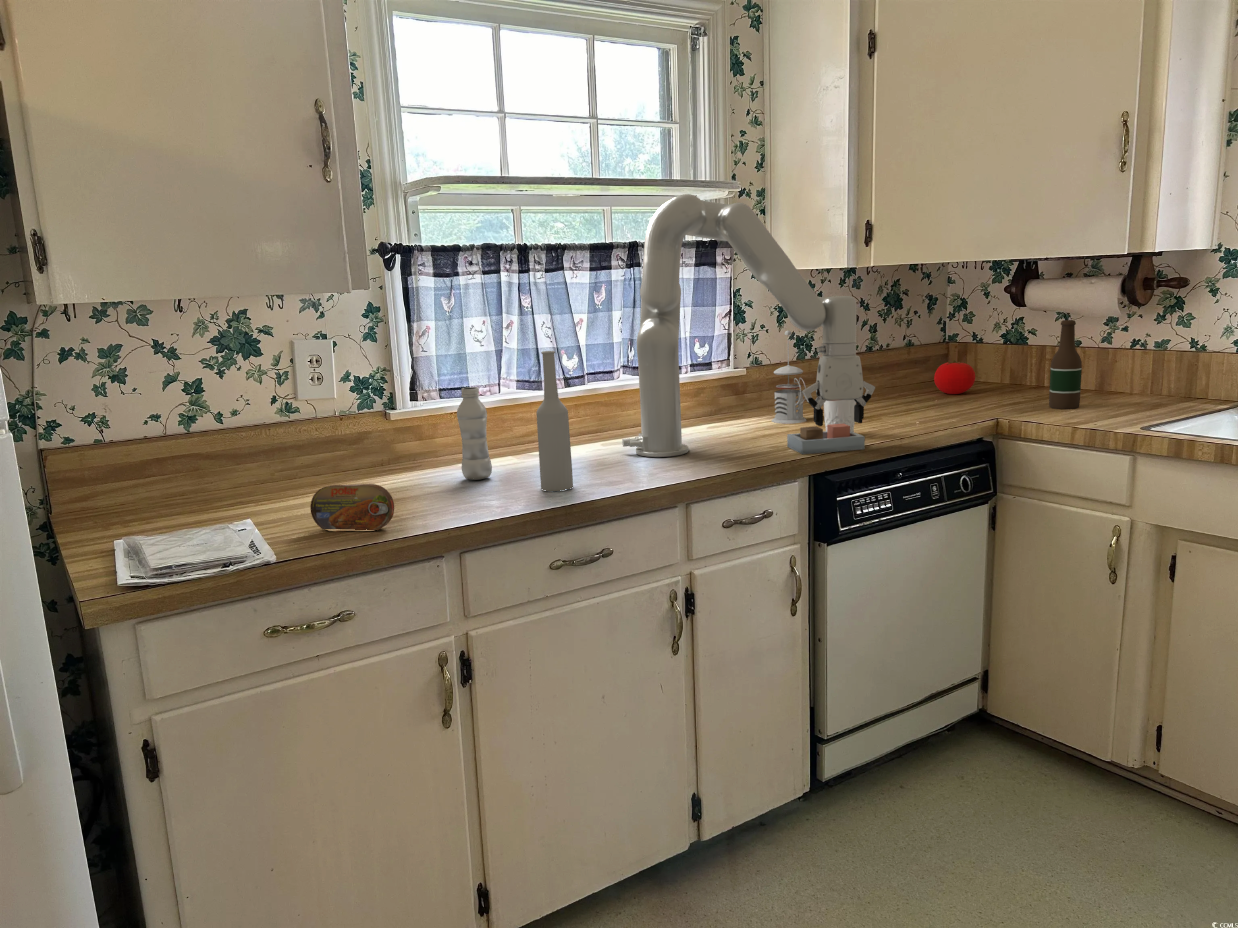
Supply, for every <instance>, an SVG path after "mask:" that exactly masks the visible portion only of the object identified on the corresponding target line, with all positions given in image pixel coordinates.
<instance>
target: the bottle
mask: <svg viewBox="0 0 1238 928" xmlns="http://www.w3.org/2000/svg"><path fill="white" fill-rule="evenodd" d="M555 353H556V351H555V350H543V351H541V353H540V354H541V355H542V368H543V401H542V402H541V404H540V405H539V407H538V408H537V411H536V424H537V425H536V426H537V428H536V429H537V430H536V431H537V445H538V457H539V458H538V461H539V462H538V463H539V477H540V490H541V489H543V490H546V491H545V492H547V491H560V490H565V489H570V488H572V487H573V488H574V480H573V463H572V450H571V448H572V447H571V435H570V419H569V410H568V408H567V407H566V406H565V404H564V403H563V402H562V401H561V399H560V397H559V390H558V383H557V374H556V373H557V371H556V359H555V358H556V357H555ZM573 488H572V489H573ZM570 490H571V489H570ZM560 492H561V491H560Z"/></svg>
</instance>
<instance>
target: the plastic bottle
mask: <svg viewBox="0 0 1238 928" xmlns="http://www.w3.org/2000/svg"><path fill="white" fill-rule="evenodd" d="M480 396H481V395H480V389H479V387H478V386H477V387H475V386H473V387H462V388H461V398H462V401H461V402H460V404H459V406H458V408H457V411H456V418H457V423H458V427H459V431H460V437H461V447H462V450H461V452H462V453H461V454H462V458H461V473H462V476H463V477H464V478H465V479H466V480H473V481H481V480H484V479H488V478H489V477H490V476H491V475H492V472H493V471H492V470H493V464H492V461H491V457H490V453H489V447H488V441H487V439H488V438H487V423H488V422H487V421H488V420H487V419H488V418H487V417H488V412H487V409H486V407H485V405H484V404H483V402H482V401H481V400H480V399H479V397H480Z"/></svg>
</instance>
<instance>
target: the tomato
mask: <svg viewBox="0 0 1238 928" xmlns="http://www.w3.org/2000/svg"><path fill="white" fill-rule="evenodd" d="M933 381H934V384H935V386H936V387H937V389H938V390H939V391H940V392H942V393H943V394H944V393H945V394H947V395H961V394H963V393H965V392H967V391H968V390H970V389H971V388H972V387H973V386H974V384H975V381H976V371H975V370H974V368H973V366H971V365H970V364H968V363H967V362H962V361H957V360H953V361H947V362H946V361H945V362H944V363H942V364H941V365H939V366H938V367H937V368H936V370H935V373H934V376H933Z"/></svg>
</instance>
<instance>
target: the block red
mask: <svg viewBox="0 0 1238 928" xmlns="http://www.w3.org/2000/svg"><path fill="white" fill-rule="evenodd" d="M838 437H850V426H849V425H846V424H830V425H827V438H838Z"/></svg>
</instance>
